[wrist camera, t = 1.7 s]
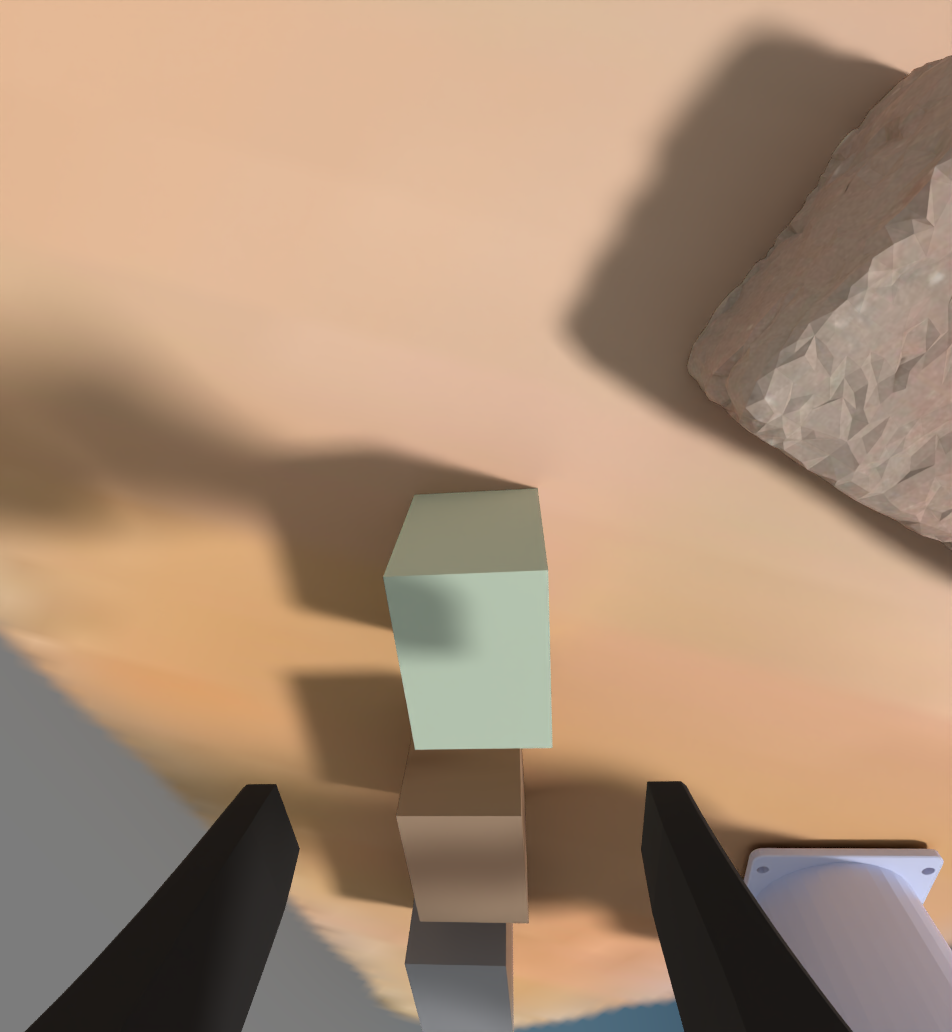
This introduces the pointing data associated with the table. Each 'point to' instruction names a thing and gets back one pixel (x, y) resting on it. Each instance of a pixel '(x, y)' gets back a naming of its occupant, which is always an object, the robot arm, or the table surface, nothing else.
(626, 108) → the table surface
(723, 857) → the robot arm
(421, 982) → the grey block
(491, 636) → the green block
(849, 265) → the brick
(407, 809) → the walnut block
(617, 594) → the table surface
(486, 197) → the table surface
